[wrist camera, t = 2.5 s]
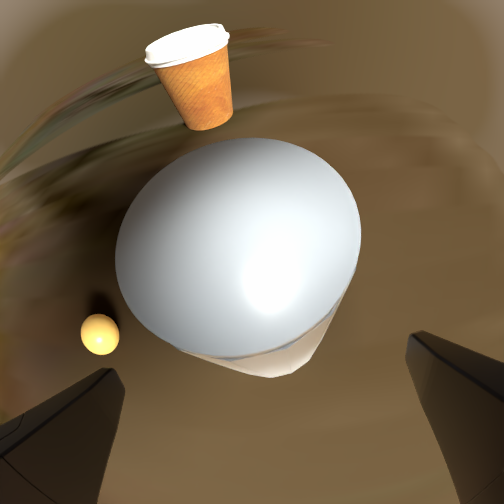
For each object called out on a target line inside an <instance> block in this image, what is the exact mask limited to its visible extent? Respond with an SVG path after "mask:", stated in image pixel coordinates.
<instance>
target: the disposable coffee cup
mask: <svg viewBox="0 0 504 504" xmlns="http://www.w3.org/2000/svg"><path fill="white" fill-rule="evenodd" d="M228 38H229V33H227V32H225V30H224V28H223V26H222V25H221V24H206V25H200V26H195V27H191V28H187V29H184V30H180V31H177V32H175V33H172V34H169V35H167V36H165V37H163V38H161V39H159V40H157V41H155V42H153V43H152V44H150V45H149V46H148V47H147V48H146V59H145V62H146V63H147V64H149V66H151V67H152V68H153V69H154V71H155V73H156V74H157V76H158V78H159V79H160V81H161V83H162V84H163V86H164V88H165V90H166V91H167V93H168V95H169V96H170V98H171V100H172V102H173V103H174V105H175V107H176V109H177V110H178V112H179V114H180V116H181V117H182V119H183V121H184V122H185V124H186V126H187V127H188V128H189V129H192V130H207V129H211V128H214V127H217V126H219V125H221V124H223V123H224V122H226V121H227V120H228V119H229V118H230V117H231V116H232V114H233V108H232V97H231V86H230V75H229V62H228V52H227V43H228Z"/></svg>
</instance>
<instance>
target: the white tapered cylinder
mask: <svg viewBox="0 0 504 504" xmlns="http://www.w3.org/2000/svg"><path fill="white" fill-rule="evenodd" d="M360 241H361V226H360V217H359V213H358V209H357V206H356V202H355V200H354V198H353V196H352V193H351V191H350V189H349V188H348V186H347V185H346V183H345V182H344V180H343V179H342V178H341V176H340V175H339V174H338V173H337V172H336V171H335V170H334V169H333V168H332V167H331V166H330V165H329V164H328V163H326V162H325V161H324V160H323V159H321V158H320V157H318V156H317V155H315V154H313V153H311V152H309V151H308V150H306V149H304V148H301V147H299V146H296V145H293V144H290V143H287V142H283V141H279V140H272V139H265V138H239V139H231V140H225V141H221V142H217V143H213V144H210V145H207V146H204V147H201V148H198V149H196V150H194V151H191V152H189V153H187V154H185V155H183V156H182V157H180V158H178V159H176V160H175V161H173V162H172V163H170V164H169V165H167V166H166V167H165V168H163V169H162V170H161V171H160V172H158V173H157V174H156V175H155V176H154V177H153V178H152V179H151V180H150V181H149V182H148V183H147V184H146V185H145V186H144V187H143V189H142V190H141V191H140V192H139V193H138V195H137V196H136V198H135V199H134V201H133V202H132V204H131V205H130V207H129V209H128V211H127V213H126V215H125V217H124V219H123V222H122V224H121V227H120V231H119V234H118V238H117V244H116V251H115V267H116V274H117V280H118V283H119V287H120V290H121V293H122V295H123V297H124V299H125V301H126V303H127V305H128V307H129V308H130V310H131V311H132V313H133V314H134V315H135V317H136V318H137V319H138V320H139V321H140V322H141V323H142V324H143V325H144V326H145V327H146V328H147V329H148V330H150V331H151V332H152V333H154V334H155V335H156V336H158V337H159V338H161V339H163V340H164V341H166V342H168V343H170V344H172V345H173V346H174V347H175V348H177V350H180V351H182V352H185V353H187V354H190V355H193V356H196V357H198V358H201V359H204V360H207V361H210V362H212V363H215V364H218V365H221V366H224V367H228V368H231V369H234V370H237V371H240V372H244V373H247V374H250V375H257V376H262V377H269V378H273V377H277V376H281V375H285V374H290V373H292V372H294V371H295V370H297V369H298V368H299V367H301V366H302V365H304V364H305V363H306V362H308V361H309V360H310V358H311V356H312V355H313V353H314V351H315V350H316V348H317V346H318V345H319V343H320V341H321V339H322V338H323V336H324V334H325V332H326V330H327V328H328V326H329V324H330V322H331V320H332V318H333V316H334V315H335V313H336V311H337V309H338V306H339V304H340V302H341V300H342V298H343V296H344V294H345V292H346V290H347V288H348V286H349V283H350V281H351V279H352V277H353V275H354V272H355V270H356V263H357V259H358V255H359V250H360Z"/></svg>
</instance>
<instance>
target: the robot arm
mask: <svg viewBox="0 0 504 504" xmlns="http://www.w3.org/2000/svg"><path fill="white" fill-rule="evenodd" d="M406 363H407V366H408V369H409V372H410V374H411V377H412V380H413V383H414V386H415V389H416V392H417V394H418V397H419V400H420V403H421V405H422V407H423V410H424V412H425V414H426V416H427V418H428V421H429V423H430V425H431V427H432V430H433V432H434V434H435V437H436V439H437V441H438V444H439V446H440V449H441V451H442V454H443V456H444V459H445V461H446V464H447V466H448V469H449V472H450V475H451V477H452V480H453V483H454V486H455V489H456V492H457V495H458V498H459V501H460V504H504V363H503V362H500V361H498V360H495V359H493V358H490V357H488V356H485V355H483V354H480V353H478V352H475V351H473V350H470V349H468V348H465V347H463V346H460V345H458V344H455V343H453V342H450V341H448V340H445V339H443V338H440V337H438V336H435V335H433V334H430V333H428V332H426V331H423V330H421V331H417V332H414V333H411V334H410V335H409V338H408V344H407V350H406ZM124 396H125V387H124V385H123V383H122V381H121V380H120V378H119V376H118V374H117V372H116V371H115V370H114V369H113V368H101V369H99V370H97V371H96V372H94V373H92V374H91V375H89V376H87V377H86V378H84V379H82V380H81V381H79V382H77V383H75V384H74V385H72V386H70V387H69V388H67V389H65V390H63V391H62V392H60V393H58V394H56V395H55V396H53V397H51V398H49V399H48V400H46V401H44V402H42V403H41V404H39V405H37V406H35V407H34V408H32V409H30V410H28V411H26V412H25V413H23V414H21V415H19V416H17V417H16V418H14V419H12V420H10V421H8V422H6V423H4V424H2V425H0V504H97V501H98V497H99V493H100V489H101V485H102V481H103V477H104V473H105V470H106V466H107V463H108V459H109V456H110V452H111V449H112V445H113V442H114V439H115V436H116V432H117V428H118V424H119V419H120V414H121V409H122V405H123V400H124Z"/></svg>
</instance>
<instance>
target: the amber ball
mask: <svg viewBox="0 0 504 504" xmlns="http://www.w3.org/2000/svg"><path fill="white" fill-rule="evenodd" d="M81 338H82V341H83V343H84V345H85V346H86V347H87V349H88V350H90V351H91V352H93V353H95V354H99V355H104V354H108V353H110V352H112V351H113V350H114V349H115V348H116V346H117V344H118V342H119V330H118V328H117V325H116V324H115V322H114V321H113V320H112V319H111V318H109V317H108V316H106V315H103V314H94V315H91V316H89V317H88V318H87V319H86V320H85V321H84V322H83V324H82V327H81Z"/></svg>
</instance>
